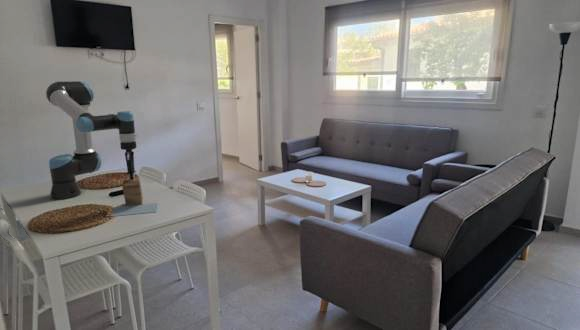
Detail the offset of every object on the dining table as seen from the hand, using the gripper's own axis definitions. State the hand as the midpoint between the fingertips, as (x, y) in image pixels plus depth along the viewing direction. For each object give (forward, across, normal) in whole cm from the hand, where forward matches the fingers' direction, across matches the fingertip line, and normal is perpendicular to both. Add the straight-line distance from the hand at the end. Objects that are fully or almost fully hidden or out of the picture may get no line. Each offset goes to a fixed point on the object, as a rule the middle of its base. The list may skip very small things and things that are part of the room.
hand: (132, 184), depth 194 cm
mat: (+11, -11, 0) cm, 15 cm away
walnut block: (+10, 0, 0) cm, 10 cm away
